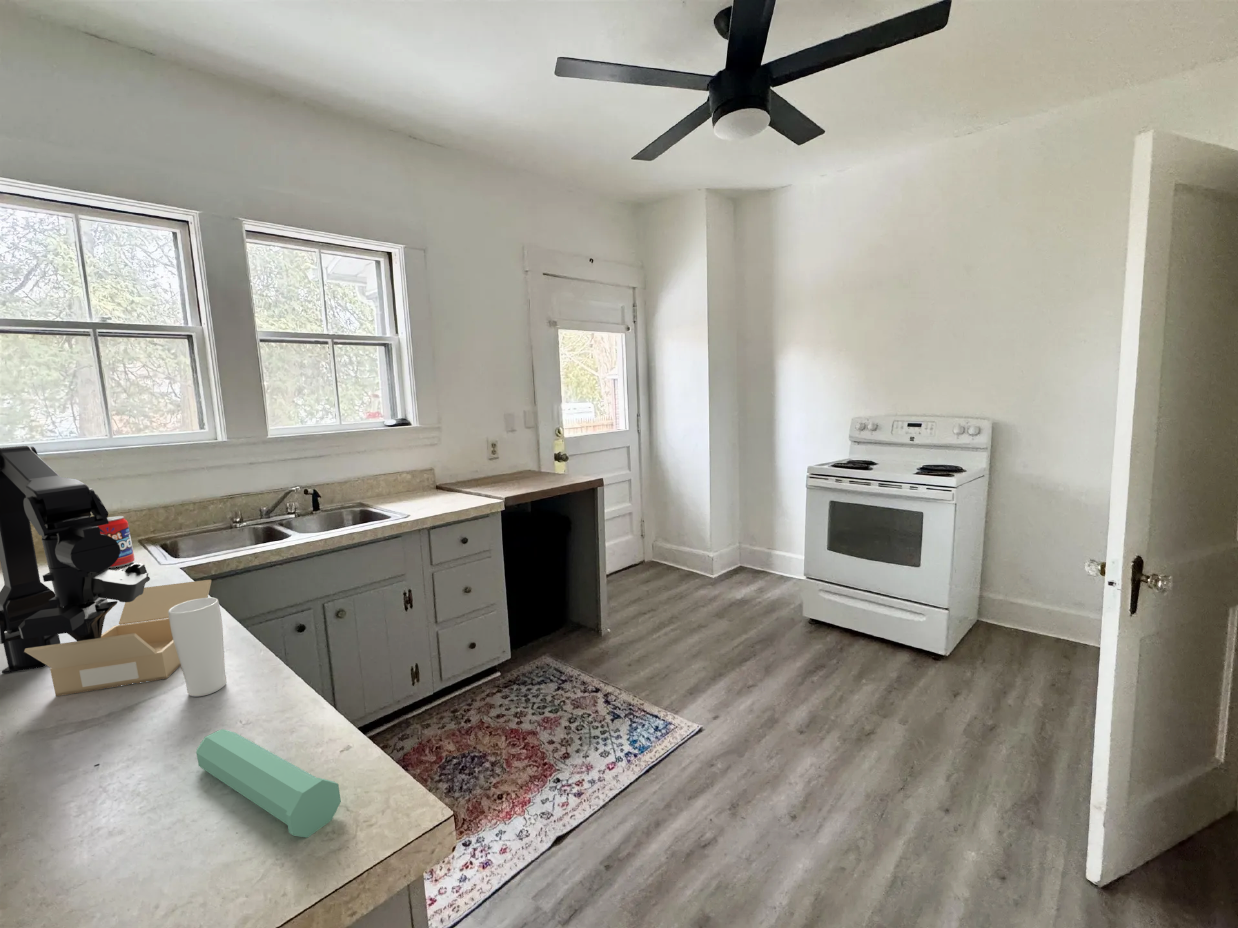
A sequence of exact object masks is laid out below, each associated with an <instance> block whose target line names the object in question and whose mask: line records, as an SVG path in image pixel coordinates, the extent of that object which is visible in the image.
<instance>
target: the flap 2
mask: <svg viewBox="0 0 1238 928" xmlns="http://www.w3.org/2000/svg"><path fill="white" fill-rule="evenodd" d="M211 584H212V579H205V580H203V579H202V580H196V581H189V582H188V581H187V582H178V583H171V584H163V585H155V586H147V587H144V591H143V594H142V595H139V596H138V597H136V598H135V600H133V601H132V602H124V606H123V608H122V612H121V615H120V618H119V621H118V625H123V624H131V623H138V622H146V621H153V620H160V619H168V618H169V613H168V611H169V609H170V608H172V607H174V606H176V605H178V604H180V603H183V602H187V601H190V600H195V599H200V598H209V593H210V590H211Z"/></svg>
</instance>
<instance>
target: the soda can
mask: <svg viewBox="0 0 1238 928" xmlns="http://www.w3.org/2000/svg"><path fill="white" fill-rule="evenodd" d="M107 519H108V522H109V523H108V524H105V525H100V526H98V527H99V528H100V534H103V535H107V536H109V537H112V538H113V539H114V540H116V542H117V543H118V545H119V546H120V554H119V557H118V559H117V561H116V562H115V563H114V564H113V565H112V566H110V567H109V568H113V569H117V568H116V567H119V568H123V567H126V566H125V565H127V566H130V565H132V564H133V563H134V562H135V560H136V559H135V552H134V548H133V547H134V546H133V544H132V543H133V542H132V537H131V532H130V525H129V522H128V520H127V519H126V518H125V516H123V515H116V516H108V518H107ZM122 566H123V567H122Z"/></svg>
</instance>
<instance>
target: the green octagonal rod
mask: <svg viewBox="0 0 1238 928" xmlns="http://www.w3.org/2000/svg"><path fill="white" fill-rule="evenodd" d="M195 753H196V758H197V763H198V767H199V768H201V769H203V771H206V772H207V773H209V774H210V775H211V776H213V777H214V778H215V779H217V780H219V781H221V782H222V783H223V784H225V785H226V786H228V787H229V788H231V789H233V790H234V791H235V792H238V793H239V794H240V795H241V796H243V797H244V798H246V799H248V800H249V801H251V802H252V803H254V804H255V805H256V806H258V807H260V808H261V809H263V810H264V811H265V812H267V813H269V814H271V815H272V816H273V817H274V818H276V819H278V820H279V821H280V822H283V823H284V824H285V825H287V831H288V834H290V835H292V836H295V837H301V838H307V839H308V838H309V837H311V836H312V835H313V834H315V833H316V832H318V831H319V830H321V828H323V827H325V826H326V825H328V824H329V823H331V822H332V820H333V818H334V816H335V814H336V812H337V811H338V808H339V806H340V804H341V803H342V801H341V793H340V787H339V786H340V785H339V783H337V782H335V781H333V780H329V779H325V778H321V777H316V776H315V775H313V774H311V773H309V772H308V771H305V770H304V769H302V768H300V767H299V766H296V765H294V764H293V763H292V762H290V761H288V760H286V759H283V758H282V757H281V756H278V754H275V753H273V752H272V751H269V750H268V749H266V748H265V747H262V746H260V745H258V744H257V743H255V742H253V741H251V740H250V739H248V738H246V737H244V736H242V735H240V734H239V733H237V732H234V731H231V730H227V729H224V728H222V729H219V730H217V731H214V732H213V733H210V734H209V735H205V736H204V738H203V739H202V741H201V742H200V744H199V746H198V747H197V749H196V752H195Z"/></svg>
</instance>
